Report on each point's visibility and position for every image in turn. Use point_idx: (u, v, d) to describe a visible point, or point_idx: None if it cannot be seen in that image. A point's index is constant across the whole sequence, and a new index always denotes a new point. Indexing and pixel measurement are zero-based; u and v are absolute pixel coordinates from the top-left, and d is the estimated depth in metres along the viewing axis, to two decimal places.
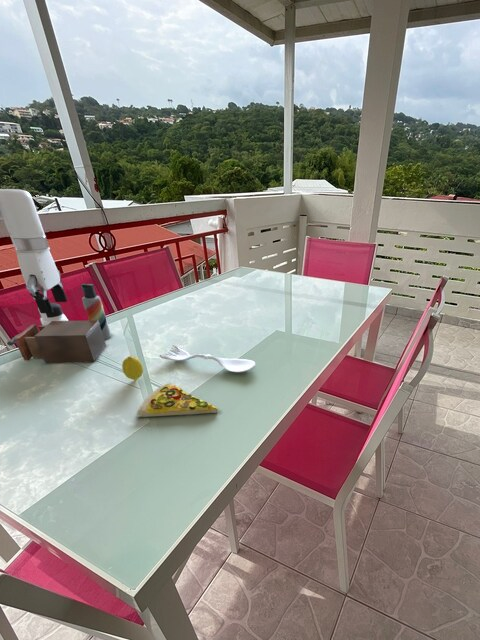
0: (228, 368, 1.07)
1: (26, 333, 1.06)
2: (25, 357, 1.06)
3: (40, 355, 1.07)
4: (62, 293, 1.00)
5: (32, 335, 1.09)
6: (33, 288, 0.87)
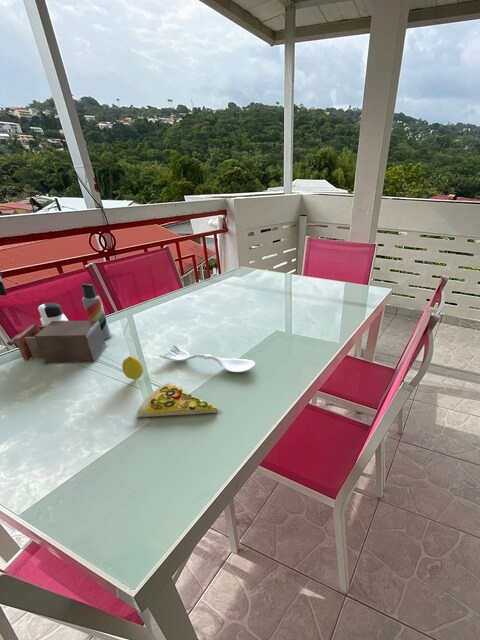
0: (228, 368, 1.07)
1: (26, 333, 1.06)
2: (25, 357, 1.06)
3: (40, 355, 1.07)
4: (1, 286, 1.01)
5: (32, 335, 1.09)
6: None
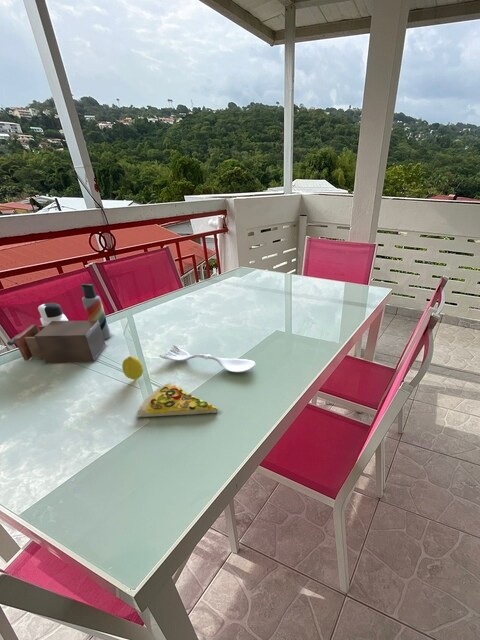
0: (228, 368, 1.07)
1: (26, 333, 1.06)
2: (25, 357, 1.06)
3: (40, 355, 1.07)
4: None
5: (32, 335, 1.09)
6: None
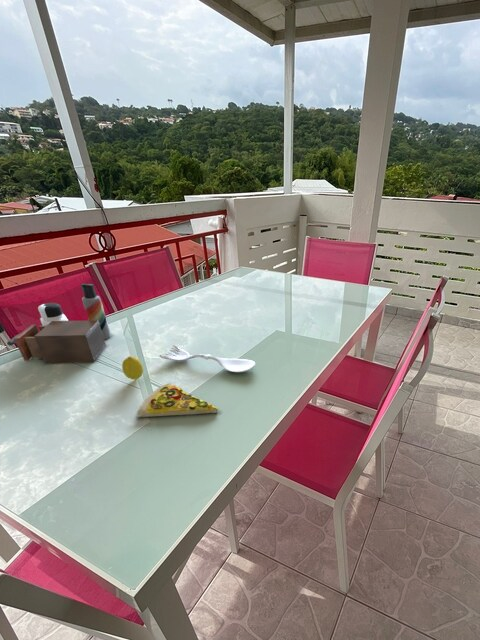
0: (228, 368, 1.07)
1: (26, 333, 1.06)
2: (25, 357, 1.06)
3: (40, 355, 1.07)
4: None
5: (32, 335, 1.09)
6: None
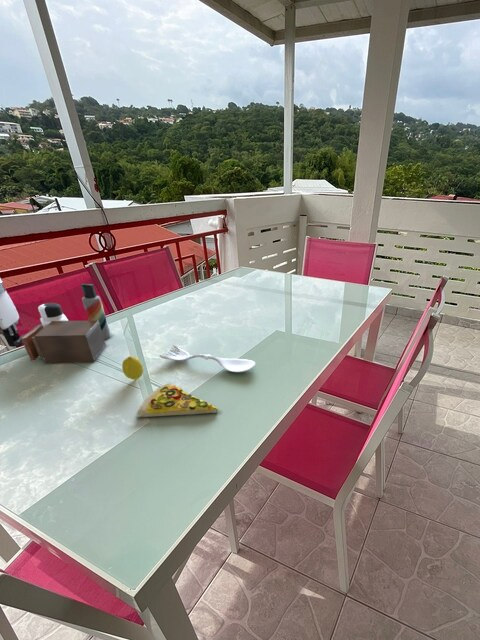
0: (228, 368, 1.07)
1: (33, 333, 1.06)
2: (32, 357, 1.06)
3: None
4: (17, 337, 1.07)
5: None
6: (1, 332, 1.01)
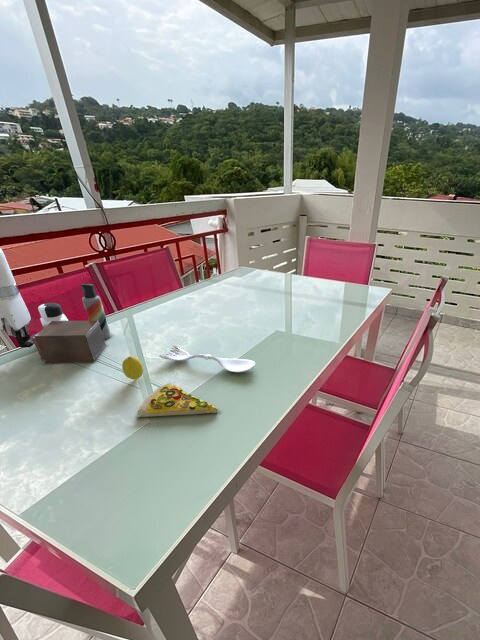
0: (228, 368, 1.07)
1: None
2: (42, 357, 1.07)
3: None
4: (28, 338, 1.08)
5: None
6: (13, 333, 1.02)
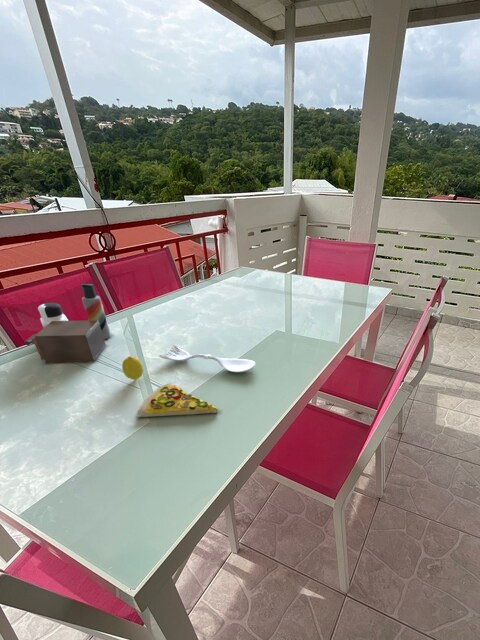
0: (228, 368, 1.07)
1: None
2: (42, 357, 1.07)
3: None
4: None
5: None
6: None
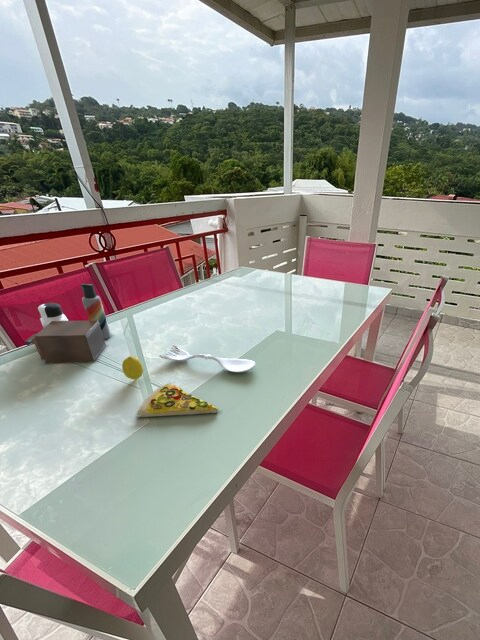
0: (228, 368, 1.07)
1: None
2: (42, 357, 1.07)
3: None
4: None
5: None
6: None
